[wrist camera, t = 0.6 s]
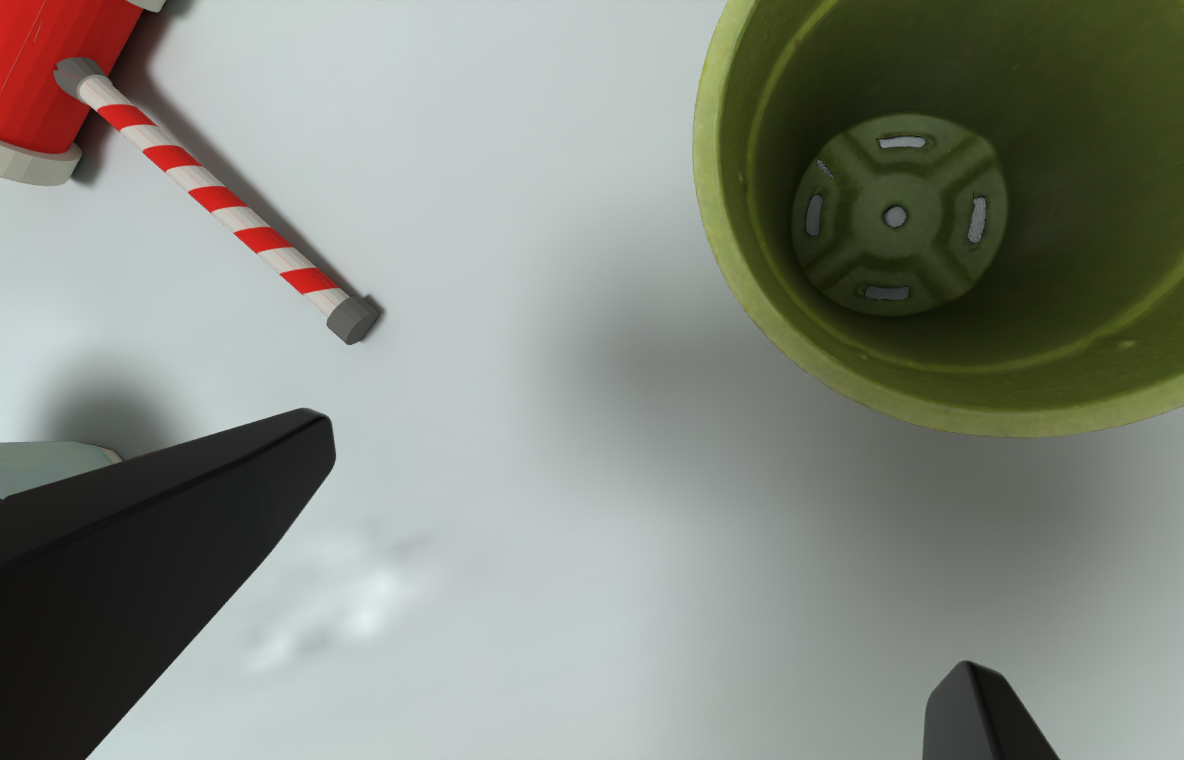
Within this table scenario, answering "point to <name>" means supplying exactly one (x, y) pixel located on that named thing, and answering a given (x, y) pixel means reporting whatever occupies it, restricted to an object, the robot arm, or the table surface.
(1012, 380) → the plant pot
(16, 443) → the disposable coffee cup
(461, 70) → the table surface
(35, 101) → the toy hammer
